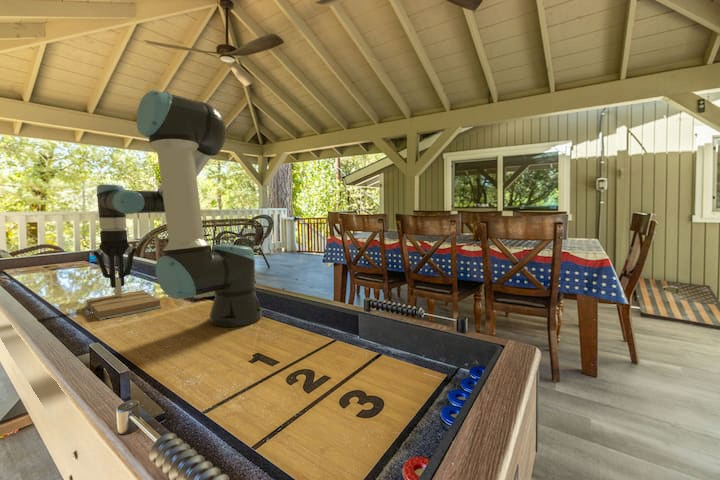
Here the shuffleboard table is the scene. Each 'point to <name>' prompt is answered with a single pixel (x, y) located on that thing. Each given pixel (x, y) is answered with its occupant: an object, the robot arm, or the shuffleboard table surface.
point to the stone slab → (202, 296)
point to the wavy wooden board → (116, 299)
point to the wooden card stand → (126, 307)
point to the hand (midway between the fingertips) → (118, 295)
